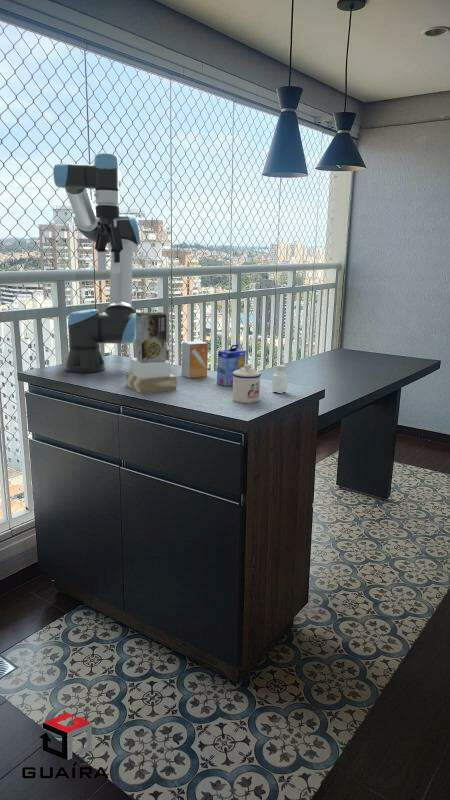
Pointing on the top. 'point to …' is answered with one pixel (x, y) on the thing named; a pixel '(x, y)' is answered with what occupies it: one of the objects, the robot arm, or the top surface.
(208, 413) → the top surface
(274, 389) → the pepper shaker
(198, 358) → the small box
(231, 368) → the blue upright box
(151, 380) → the tower base
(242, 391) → the teacup with lid
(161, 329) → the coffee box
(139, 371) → the tower top
